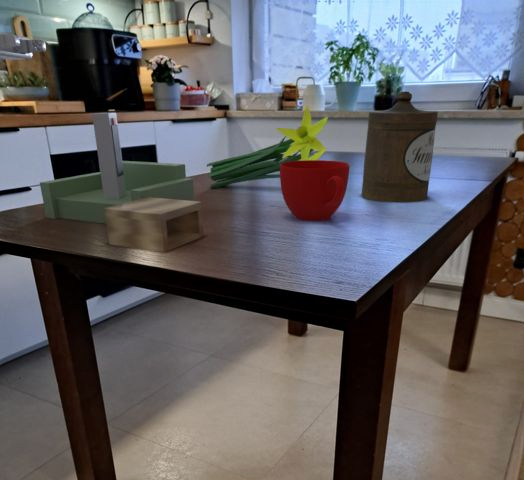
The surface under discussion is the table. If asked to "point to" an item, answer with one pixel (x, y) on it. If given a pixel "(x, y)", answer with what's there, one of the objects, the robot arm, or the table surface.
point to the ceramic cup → (313, 187)
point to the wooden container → (399, 152)
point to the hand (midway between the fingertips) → (31, 43)
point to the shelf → (154, 223)
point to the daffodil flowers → (270, 155)
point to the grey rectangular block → (109, 155)
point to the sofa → (93, 203)
